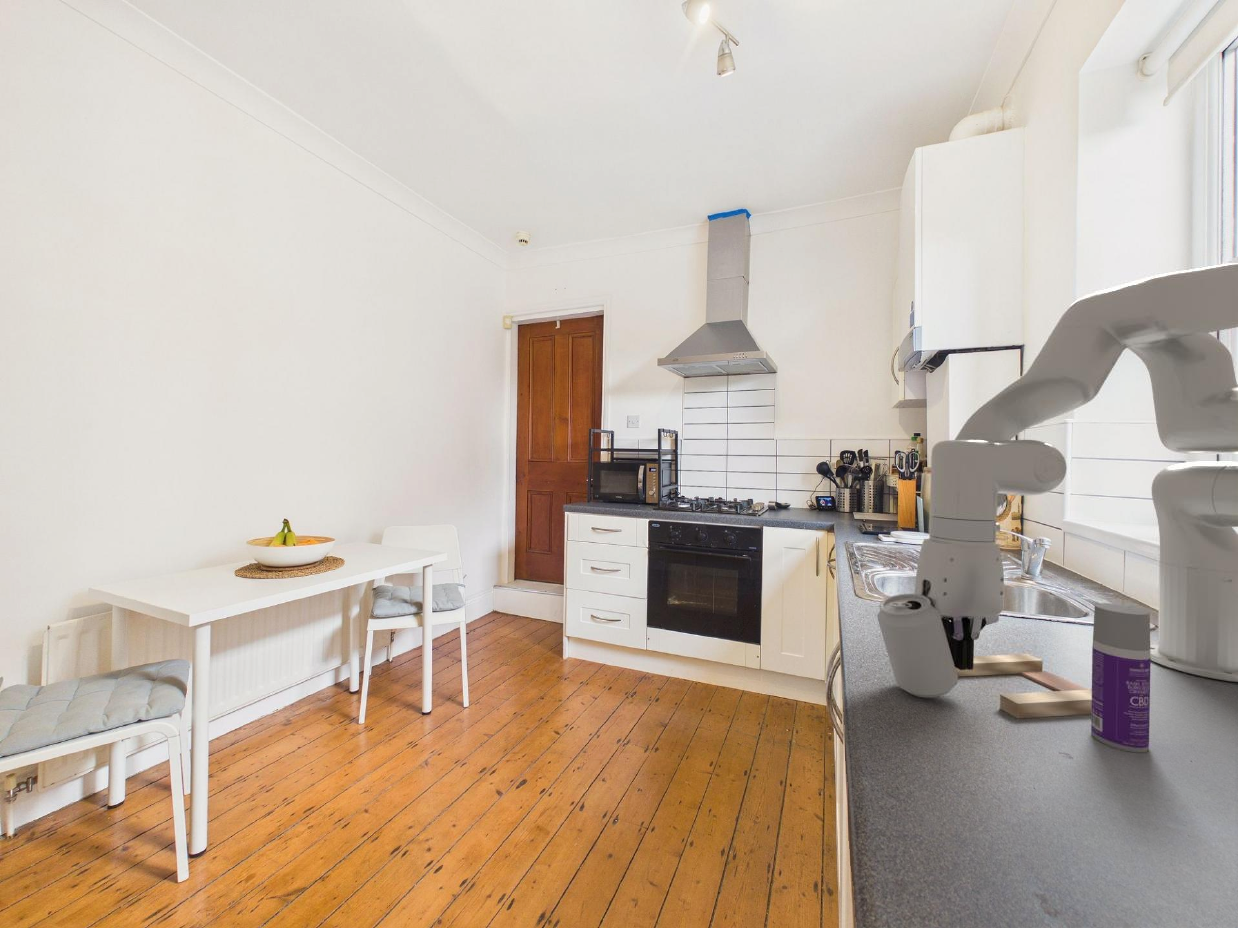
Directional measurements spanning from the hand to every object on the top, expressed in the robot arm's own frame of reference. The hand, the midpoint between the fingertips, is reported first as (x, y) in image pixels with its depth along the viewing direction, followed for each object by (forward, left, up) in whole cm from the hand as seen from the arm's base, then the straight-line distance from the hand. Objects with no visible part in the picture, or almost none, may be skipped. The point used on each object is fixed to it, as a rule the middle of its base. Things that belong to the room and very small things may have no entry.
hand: (958, 665), depth 69 cm
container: (-9, +13, -4) cm, 16 cm away
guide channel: (-10, 0, -4) cm, 11 cm away
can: (+4, 0, -3) cm, 5 cm away
